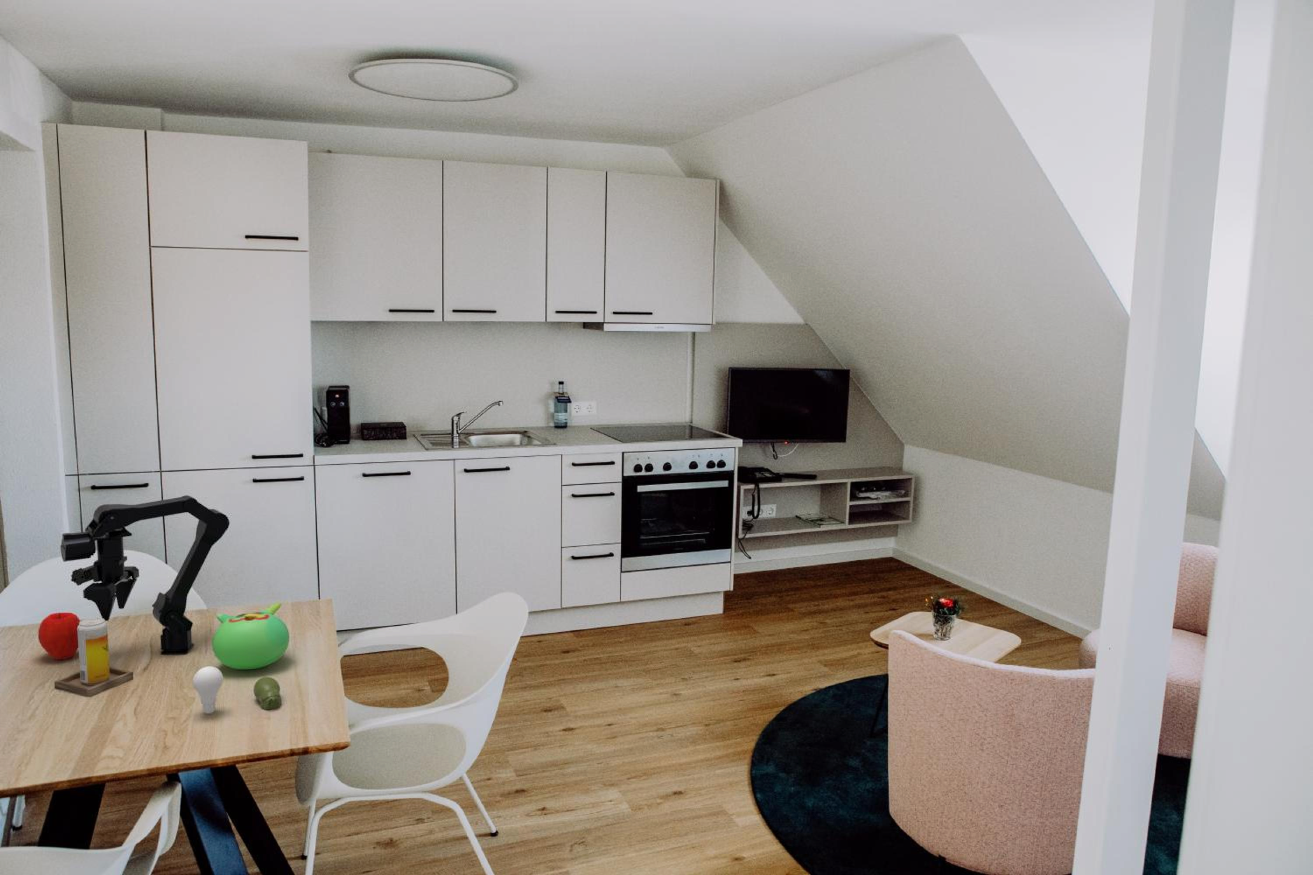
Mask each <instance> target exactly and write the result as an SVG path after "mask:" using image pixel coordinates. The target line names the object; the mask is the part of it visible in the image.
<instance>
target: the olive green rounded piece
mask: <svg viewBox="0 0 1313 875" xmlns="http://www.w3.org/2000/svg"><path fill="white" fill-rule="evenodd" d="M280 692H281V687H280V685H279V683H278V681H277V680H276V679H275V678H273V677H271V676H264V677H261V678H259V679H258V680H257V681H256V682H255V683H254V686H253V695H254V697H255V698H256V699H257V700H259V701H260V708H262V709H263V710H264V711H267V709H268V710H272V709H271V708H274V709H278V708H280V707H281V705H282V696H281V693H280ZM277 707H278V708H277Z"/></svg>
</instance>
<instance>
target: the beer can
mask: <svg viewBox="0 0 1313 875" xmlns="http://www.w3.org/2000/svg"><path fill="white" fill-rule="evenodd" d="M77 630H78V646H79V647H78V660H79V672H80V678H81V681H82V682H83V683H84V684H85V685H96V684H100V683H103V682H105V681H107V679H108V678H109V676H110V668H109V667H110V655H109V639H108V638H109V637H108V624H107V621H105V619H103V618H102V617H93V618H86V619H84V620H80V623H79V626H78V628H77Z"/></svg>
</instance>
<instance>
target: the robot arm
mask: <svg viewBox="0 0 1313 875" xmlns="http://www.w3.org/2000/svg"><path fill="white" fill-rule="evenodd" d="M185 513H188V514H189V515H191V516H192V517H194V518H195V519H197V520H198V522H197V525H196V528H195V529H196V530H195V538H194V540H193V543H192V545H191V547H190V550H189V552H188V553H187V555H186V557H185V558H184V560H183V562H182V564H181V566H180V568H179V570H178V573H177V574H176V577H175V579H174V581H173V583H172V584H171V587H170V588H169V589H168V590H167V591H165V593H163V592H161V591H159V593H158V594H157V597H156V599H155V602H154V603H153V604H151V607H153V608H152V615H153V618H155V620H156V621H157V622H158V623H159V624H160V625H161V626H162V627H164V628H163V629H162V630H161V635H160V636H159V637H160V650H161V651H160V655H161V656H162V655H186V654H188V653H189V652H190V651H191V649H193V647H195V643H193V638H192V636H193V635H192V627H193V625H194V622H193V621H192V620H190V619H189V618H188V617H187V616H186V615H185V612H186V609H187V602H188V596H189V593H190V591H191V590H192V589H191V588H192V587H193V585H194V583H195V581H196V579H197V577H198V575H199V574H200V571H201V569H202V567H203V565H204V563H205V562H206V559H207V558H208V555H209V554H210V552H211V549H212V547H213V546H214V545H216V544H217V543H218V541H219V540H221V539H222V537H223V536H224V534H225V533H226V532H227V531H228V529H229V527H230V522H231V521H230V520H229V517H228V516H227V515H226V514H225V513H222V512H221V511H219V510H218V509H215V508H214V509H213V508H208V507H206V506H205V505H203V504H202V503H201V502H199V501H198V499H196V498H194V497H193V496H192V495H188V494H187V495H183V496H179V497H174V498H168V499H161V500H155V501H154V500H153V501H150V502H149V501H148V502H144V503H137V504H121V503H112V504H111V503H110V504H109V503H107V504H102V505H99V506H97V508H96V509H95V510H94V511H93V515H92V516H93V518H92V519H91V521H90V522H89V523H88V525H87V526H86V527H85V529H84V531H82V532H81V531H80V532H71V533H70V532H65V533H62V535H61V537H62V538H61V544H60V546H59V547H60V554H61V555H60V556H61V559H62V561H63V562H64V563H65V562H72V561H79V560H80V561H81V560H86V559H91V558H92V556H93V557H94V556H95V555H94V554H97V559H96V560H94V562H93V565H90V566H86V567H84V568H82V567H80V568H78V569H74V570H72V573H71V574H70V577H71V579H70V581H71V582H73V583H74V584H76V586H81V585H82V584H84V583H87V582H91V581H93V582H92V583H90V584H89V585H88V586H86V587H85V588H84V589H83V590H82V596H83V599H86V600H88V601H91V602H93V603H94V604H95V605H96V607H97V610H98V611H99V614H100V616H101V618H103V619H105V622H109V620H110V618H111V615H112V612H113V609H114V604H115V602H117V607H118V609H119V610H123V609H124V608H125V607H126V604H127V602H128V599H129V598H130V595H131V592H132V590H133V589H134V586H135V584H136V582H137V581H138V578H139V577H140V569H139V568H138V567H136V565H134V566H133V565H132V566H129V565H128V566H125V562H126V561H128V556H127V555H125V553H124V552H125V548H124V537H127V538H128V537H131V536H133V533H132V532H131V531H129V530H128V529H127V528H126V527H128V526H130V525H133V524H134V523H137V522H140V521H145V520H151V519H157V518H162V517H167V516H173V515H179V514H185Z"/></svg>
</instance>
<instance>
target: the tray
mask: <svg viewBox="0 0 1313 875" xmlns="http://www.w3.org/2000/svg"><path fill="white" fill-rule="evenodd" d="M109 668H110V676H109V678H108V679H107V681H105V682H103V683H100V684H96V685H85V684H84V683H83V682H82V681H81V678H80V671H77V672H75V673H73V674H70V675H66V676H64V677H62V678H59V679H57V680H54V682H53V683H54V684H53V685H54V689H56V690H60V691H63V692H67V693H71V694H75V695H79V696H83V697H86V698H87V697H88V698H90V697H93V696H96V695H98V694H101V693H103V692H105V691H108V690H110V689H113V688H115V687H117V686H119V685H120V686H121V685H123V684H125V683H127V682H129V681H132V680H134V672H133V671H130V670H125V669H121V668H117V667H112V666H109Z"/></svg>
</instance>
